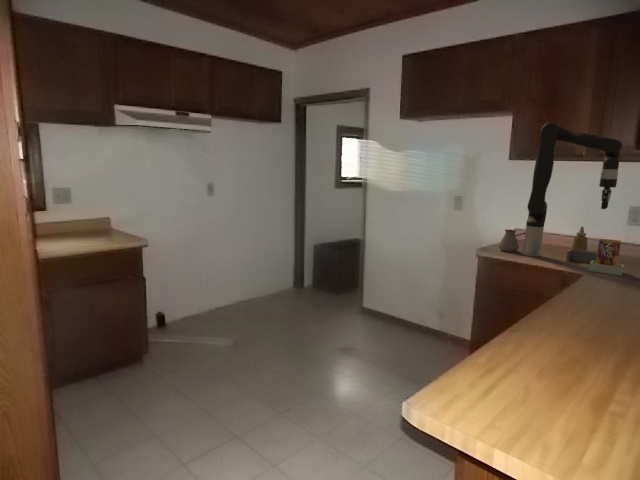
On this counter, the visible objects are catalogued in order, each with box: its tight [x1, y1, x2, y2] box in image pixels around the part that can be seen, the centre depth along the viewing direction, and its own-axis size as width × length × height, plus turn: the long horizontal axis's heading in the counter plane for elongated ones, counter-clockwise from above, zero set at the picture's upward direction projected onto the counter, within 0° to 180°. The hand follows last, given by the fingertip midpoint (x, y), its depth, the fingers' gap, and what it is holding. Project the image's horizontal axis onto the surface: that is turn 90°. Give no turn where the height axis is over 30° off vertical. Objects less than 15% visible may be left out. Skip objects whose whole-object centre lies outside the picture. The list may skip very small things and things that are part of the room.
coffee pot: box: [498, 229, 526, 253], centre depth 258 cm, size 21×12×15 cm, turn 61°
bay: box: [566, 248, 598, 264], centre depth 234 cm, size 14×8×6 cm, turn 52°
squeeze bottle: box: [570, 226, 588, 251], centre depth 248 cm, size 8×8×18 cm
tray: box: [588, 260, 625, 276], centre depth 215 cm, size 14×9×4 cm, turn 52°
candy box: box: [596, 238, 622, 267], centre depth 214 cm, size 9×4×15 cm, turn 52°
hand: (604, 208), depth 230 cm, fingers open, 8 cm apart
